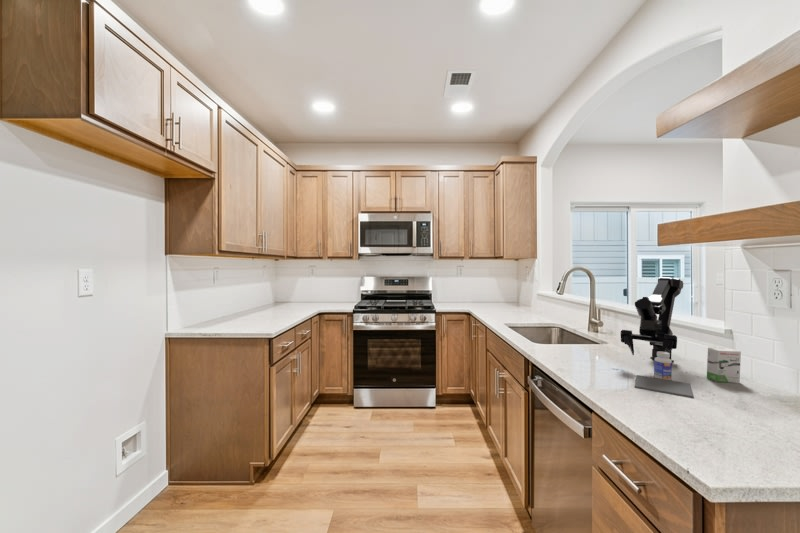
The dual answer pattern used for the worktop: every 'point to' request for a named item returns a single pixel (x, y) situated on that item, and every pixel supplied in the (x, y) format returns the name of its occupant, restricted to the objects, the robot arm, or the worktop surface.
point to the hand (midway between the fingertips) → (647, 356)
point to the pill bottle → (663, 366)
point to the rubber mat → (664, 386)
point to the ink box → (723, 364)
